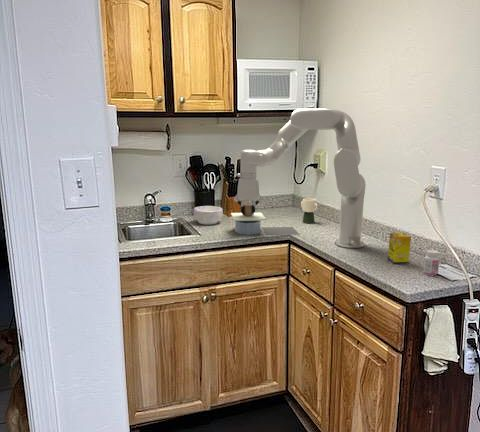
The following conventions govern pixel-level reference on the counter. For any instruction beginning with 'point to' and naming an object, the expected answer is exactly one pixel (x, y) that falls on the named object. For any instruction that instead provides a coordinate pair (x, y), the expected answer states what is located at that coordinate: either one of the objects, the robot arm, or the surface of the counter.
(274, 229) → the mat
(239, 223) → the bowl
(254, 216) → the lid
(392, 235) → the supplement box
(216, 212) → the pale pink bowl
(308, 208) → the character mug
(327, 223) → the counter surface
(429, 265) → the pill bottle
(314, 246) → the counter surface
